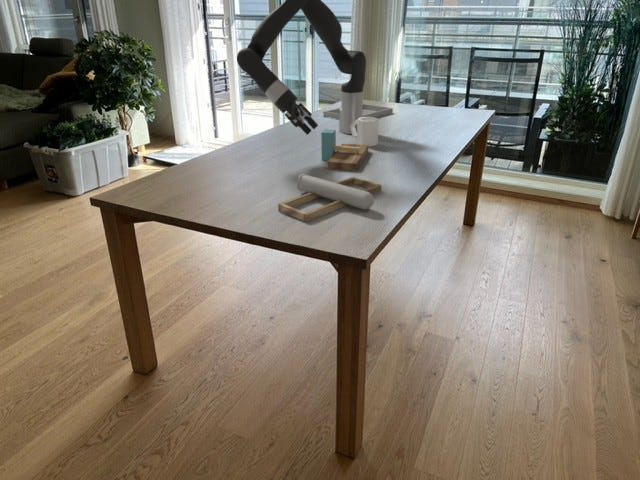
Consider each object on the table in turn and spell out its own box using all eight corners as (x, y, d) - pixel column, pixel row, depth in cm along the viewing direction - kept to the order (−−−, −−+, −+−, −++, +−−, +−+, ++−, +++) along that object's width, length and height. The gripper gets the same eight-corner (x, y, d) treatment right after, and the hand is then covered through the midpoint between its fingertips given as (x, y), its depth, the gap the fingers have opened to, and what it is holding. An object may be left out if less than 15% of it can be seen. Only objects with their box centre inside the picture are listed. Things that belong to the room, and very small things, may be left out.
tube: (379, 193, 129) (309, 174, 144) (369, 192, 125) (298, 172, 139) (374, 212, 130) (306, 191, 145) (364, 211, 126) (294, 190, 140)
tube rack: (278, 210, 131) (278, 204, 130) (353, 182, 150) (353, 176, 149) (306, 222, 124) (306, 215, 123) (381, 191, 143) (381, 184, 142)
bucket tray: (323, 116, 239) (323, 111, 238) (361, 107, 257) (361, 103, 256) (355, 122, 225) (355, 117, 224) (392, 113, 244) (392, 108, 243)
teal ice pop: (321, 160, 172) (321, 132, 168) (325, 156, 177) (324, 129, 172) (358, 162, 169) (359, 134, 165) (361, 158, 174) (361, 131, 169)
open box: (327, 168, 163) (327, 161, 162) (342, 150, 184) (342, 143, 183) (356, 170, 161) (356, 163, 160) (368, 151, 181) (368, 144, 180)
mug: (381, 142, 193) (382, 118, 188) (370, 147, 186) (371, 122, 182) (356, 138, 199) (356, 114, 194) (344, 143, 193) (345, 118, 188)
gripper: (281, 91, 161) (314, 127, 163) (294, 85, 173) (325, 118, 175) (267, 107, 164) (300, 142, 167) (281, 100, 177) (311, 132, 179)
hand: (312, 130), depth 171 cm, fingers open, 8 cm apart
